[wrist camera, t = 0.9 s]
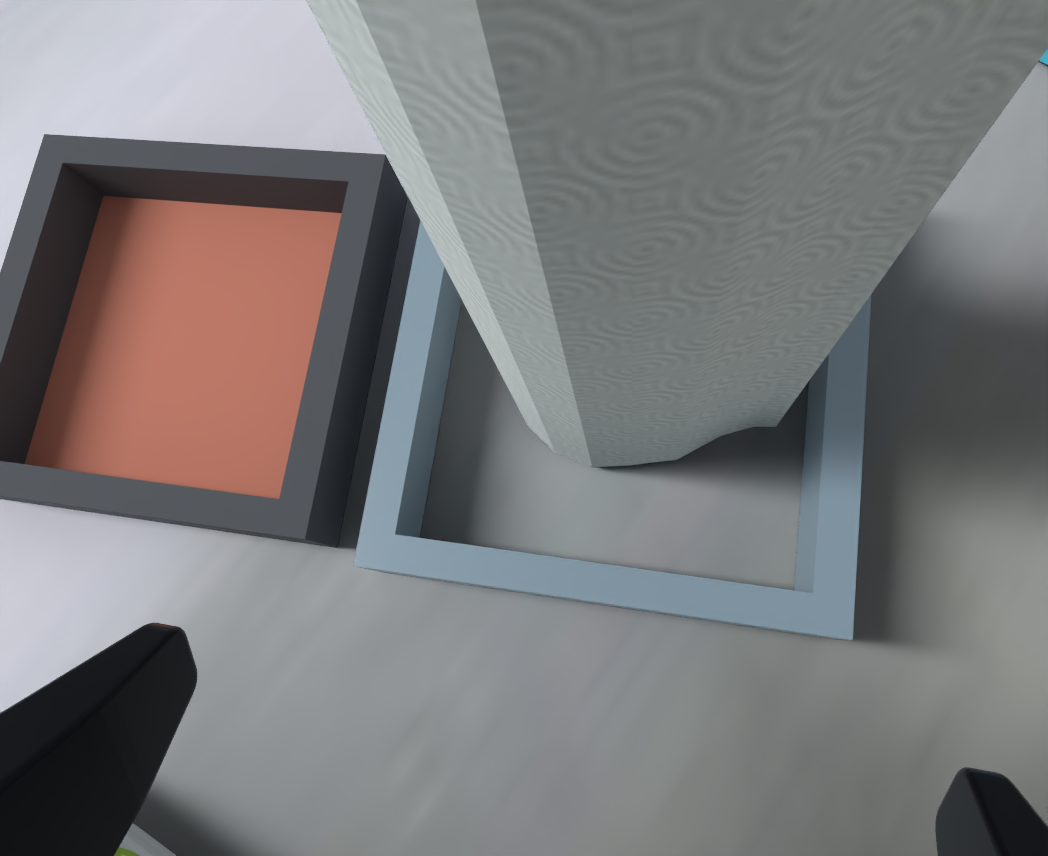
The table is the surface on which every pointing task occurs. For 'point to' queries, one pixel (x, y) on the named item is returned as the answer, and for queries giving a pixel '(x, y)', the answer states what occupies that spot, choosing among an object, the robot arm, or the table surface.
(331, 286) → the tray
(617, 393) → the paper towel roll
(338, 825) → the table surface
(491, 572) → the blue square frame
